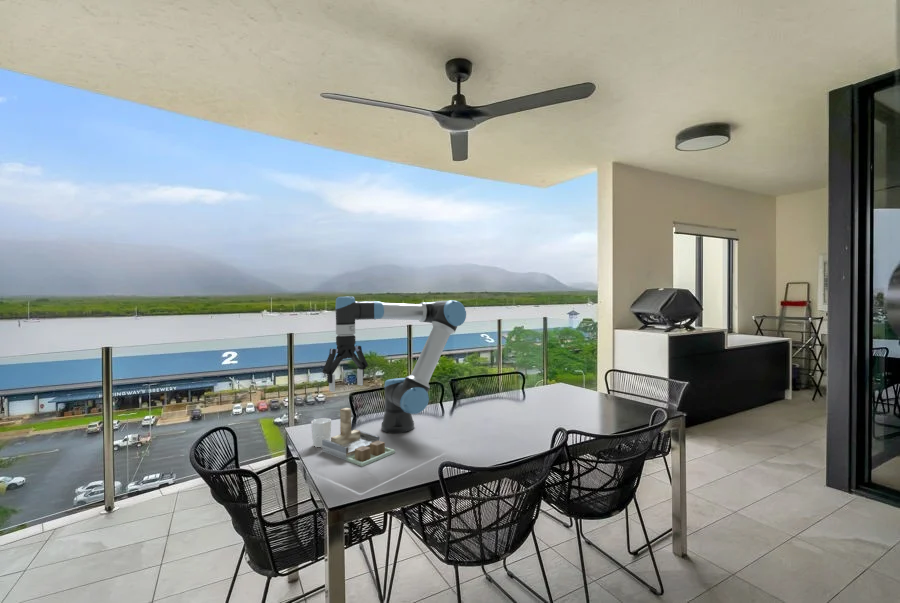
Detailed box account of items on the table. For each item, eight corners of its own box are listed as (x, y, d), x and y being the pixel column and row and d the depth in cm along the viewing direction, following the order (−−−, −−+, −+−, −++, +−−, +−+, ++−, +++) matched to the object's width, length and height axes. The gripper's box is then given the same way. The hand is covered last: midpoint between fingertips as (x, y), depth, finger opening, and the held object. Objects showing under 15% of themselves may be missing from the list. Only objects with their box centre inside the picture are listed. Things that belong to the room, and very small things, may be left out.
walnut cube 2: (377, 440, 153) (384, 442, 151) (377, 450, 153) (384, 452, 151) (369, 443, 150) (376, 445, 148) (370, 453, 150) (376, 456, 148)
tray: (379, 448, 157) (379, 445, 157) (395, 453, 151) (394, 449, 151) (346, 461, 144) (346, 457, 144) (362, 467, 139) (362, 463, 139)
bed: (355, 441, 166) (355, 429, 166) (379, 448, 157) (379, 436, 157) (322, 452, 153) (322, 439, 154) (346, 461, 144) (346, 448, 144)
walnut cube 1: (363, 445, 148) (370, 447, 145) (363, 456, 148) (370, 458, 145) (354, 448, 145) (361, 451, 142) (354, 459, 145) (361, 462, 142)
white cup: (335, 443, 164) (335, 419, 164) (320, 449, 157) (320, 424, 157) (322, 440, 168) (322, 417, 168) (307, 446, 161) (307, 421, 161)
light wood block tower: (355, 436, 163) (355, 405, 163) (360, 438, 161) (359, 406, 161) (331, 445, 153) (330, 411, 153) (335, 446, 152) (335, 412, 152)
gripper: (324, 337, 145) (325, 395, 145) (375, 333, 165) (376, 383, 164) (312, 337, 150) (313, 392, 149) (364, 332, 169) (365, 381, 169)
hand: (346, 388), depth 157 cm, fingers open, 13 cm apart
